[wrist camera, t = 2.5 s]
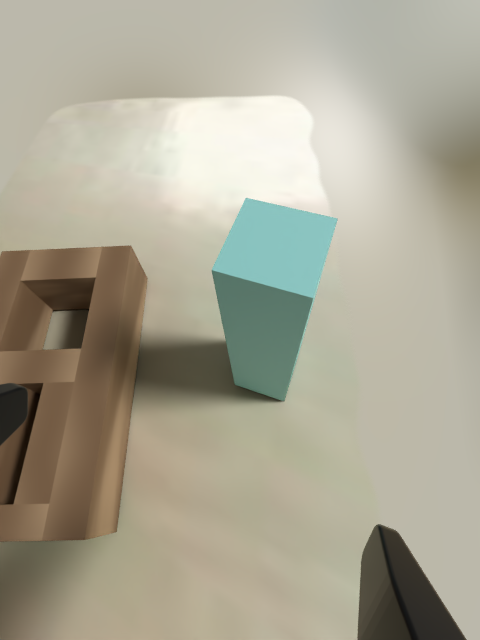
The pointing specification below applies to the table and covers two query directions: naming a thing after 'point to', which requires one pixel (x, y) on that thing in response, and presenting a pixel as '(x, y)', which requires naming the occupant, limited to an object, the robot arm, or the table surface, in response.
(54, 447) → the bore block
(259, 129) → the table surface
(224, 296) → the teal square peg
